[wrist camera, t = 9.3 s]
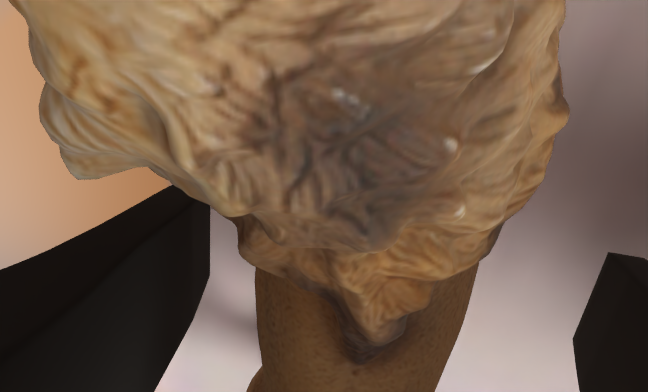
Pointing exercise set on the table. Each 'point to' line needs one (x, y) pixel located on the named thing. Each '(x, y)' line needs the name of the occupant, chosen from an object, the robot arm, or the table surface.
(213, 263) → the table surface
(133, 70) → the lion figurine
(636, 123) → the table surface
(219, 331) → the table surface
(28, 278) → the robot arm
